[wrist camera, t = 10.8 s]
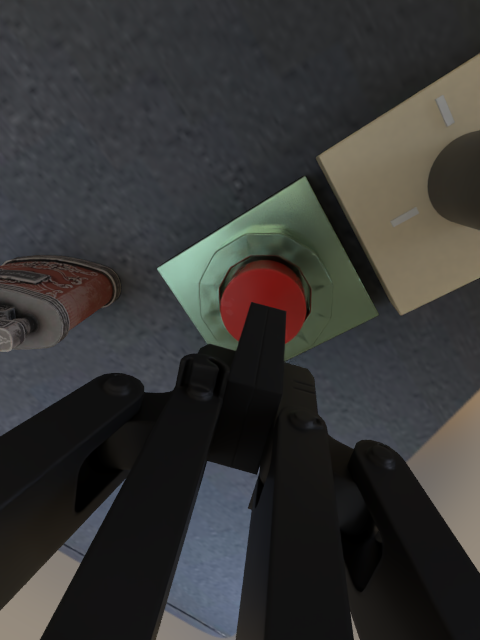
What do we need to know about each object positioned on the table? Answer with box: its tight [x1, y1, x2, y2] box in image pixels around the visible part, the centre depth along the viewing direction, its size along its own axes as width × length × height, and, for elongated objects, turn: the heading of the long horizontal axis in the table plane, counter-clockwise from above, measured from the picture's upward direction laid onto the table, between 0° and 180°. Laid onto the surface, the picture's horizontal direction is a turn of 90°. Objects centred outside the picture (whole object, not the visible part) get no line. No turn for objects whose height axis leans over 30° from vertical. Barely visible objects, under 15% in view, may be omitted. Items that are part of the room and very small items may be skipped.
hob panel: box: [316, 53, 480, 315], centre depth 21 cm, size 11×10×3 cm
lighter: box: [0, 255, 121, 352], centre depth 23 cm, size 8×3×10 cm, turn 85°
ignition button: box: [220, 260, 306, 344], centre depth 21 cm, size 4×4×2 cm
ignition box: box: [157, 176, 379, 361], centre depth 24 cm, size 10×9×4 cm
